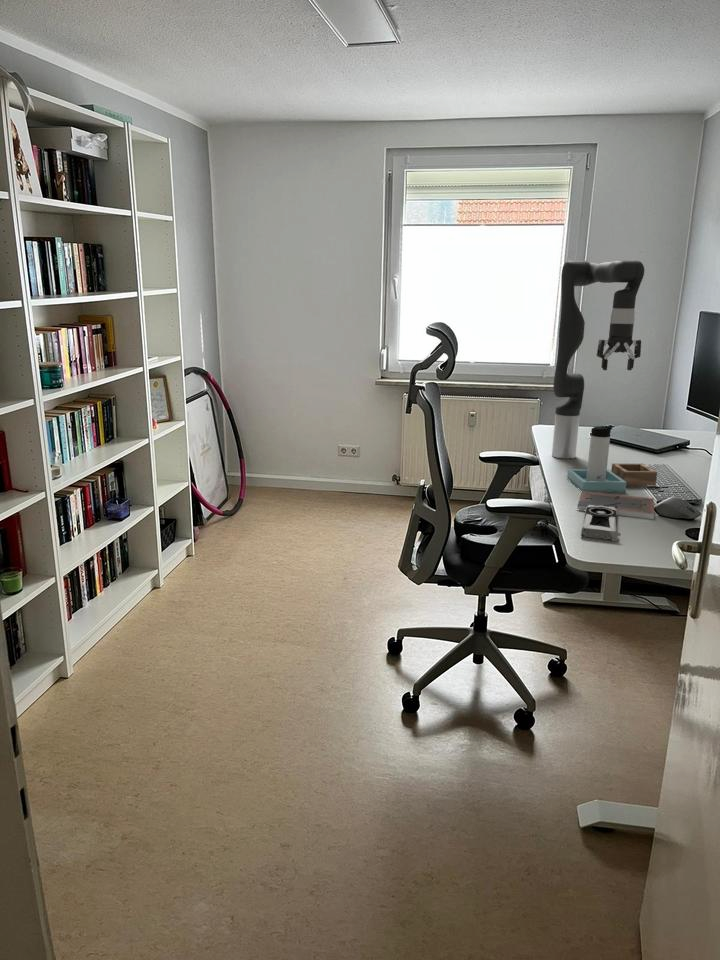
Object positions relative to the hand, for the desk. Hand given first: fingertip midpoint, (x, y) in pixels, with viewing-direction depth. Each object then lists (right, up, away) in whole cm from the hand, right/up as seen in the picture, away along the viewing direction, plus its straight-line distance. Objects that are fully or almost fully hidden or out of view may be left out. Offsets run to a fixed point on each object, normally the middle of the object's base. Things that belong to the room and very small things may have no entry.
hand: (616, 370), depth 236 cm
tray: (-8, -40, -1) cm, 41 cm away
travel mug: (-8, -39, -1) cm, 40 cm away
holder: (+7, -39, +4) cm, 39 cm away
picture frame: (-9, -47, -24) cm, 54 cm away
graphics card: (-20, -52, -41) cm, 69 cm away
